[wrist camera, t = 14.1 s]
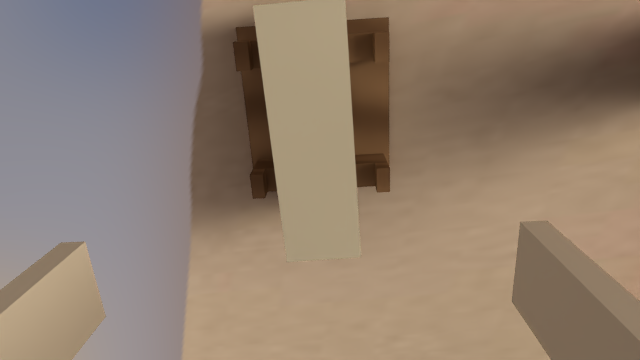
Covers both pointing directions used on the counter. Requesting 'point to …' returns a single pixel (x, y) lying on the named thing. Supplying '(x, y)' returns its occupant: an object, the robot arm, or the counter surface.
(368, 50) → the brown wooden frame
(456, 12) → the counter surface
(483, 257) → the counter surface
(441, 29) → the counter surface
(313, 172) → the clay bar
